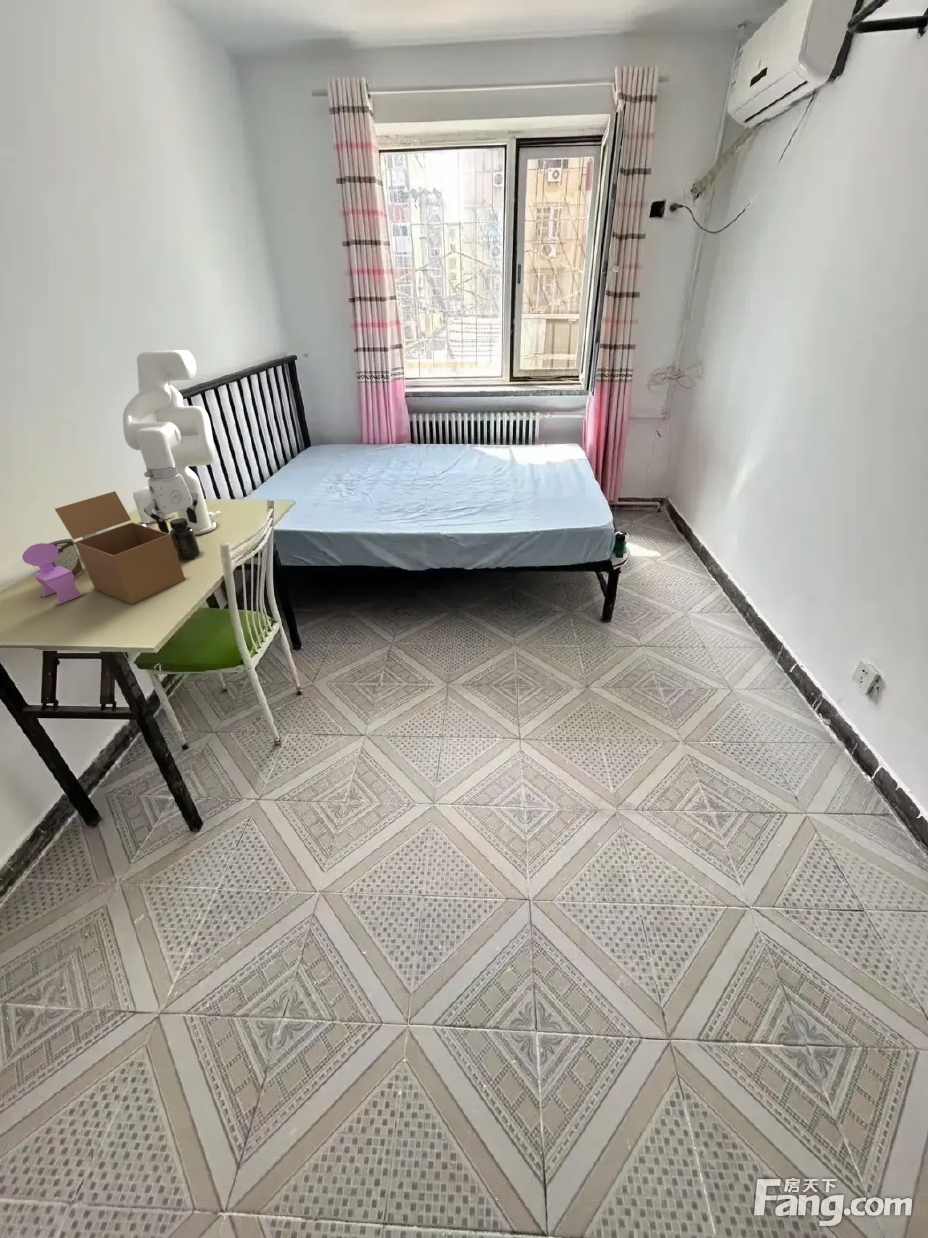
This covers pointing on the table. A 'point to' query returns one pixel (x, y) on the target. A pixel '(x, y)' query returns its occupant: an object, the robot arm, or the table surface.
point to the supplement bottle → (184, 539)
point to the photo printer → (145, 504)
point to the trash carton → (131, 561)
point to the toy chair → (51, 572)
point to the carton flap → (93, 515)
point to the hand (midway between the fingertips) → (179, 527)
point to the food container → (67, 556)
